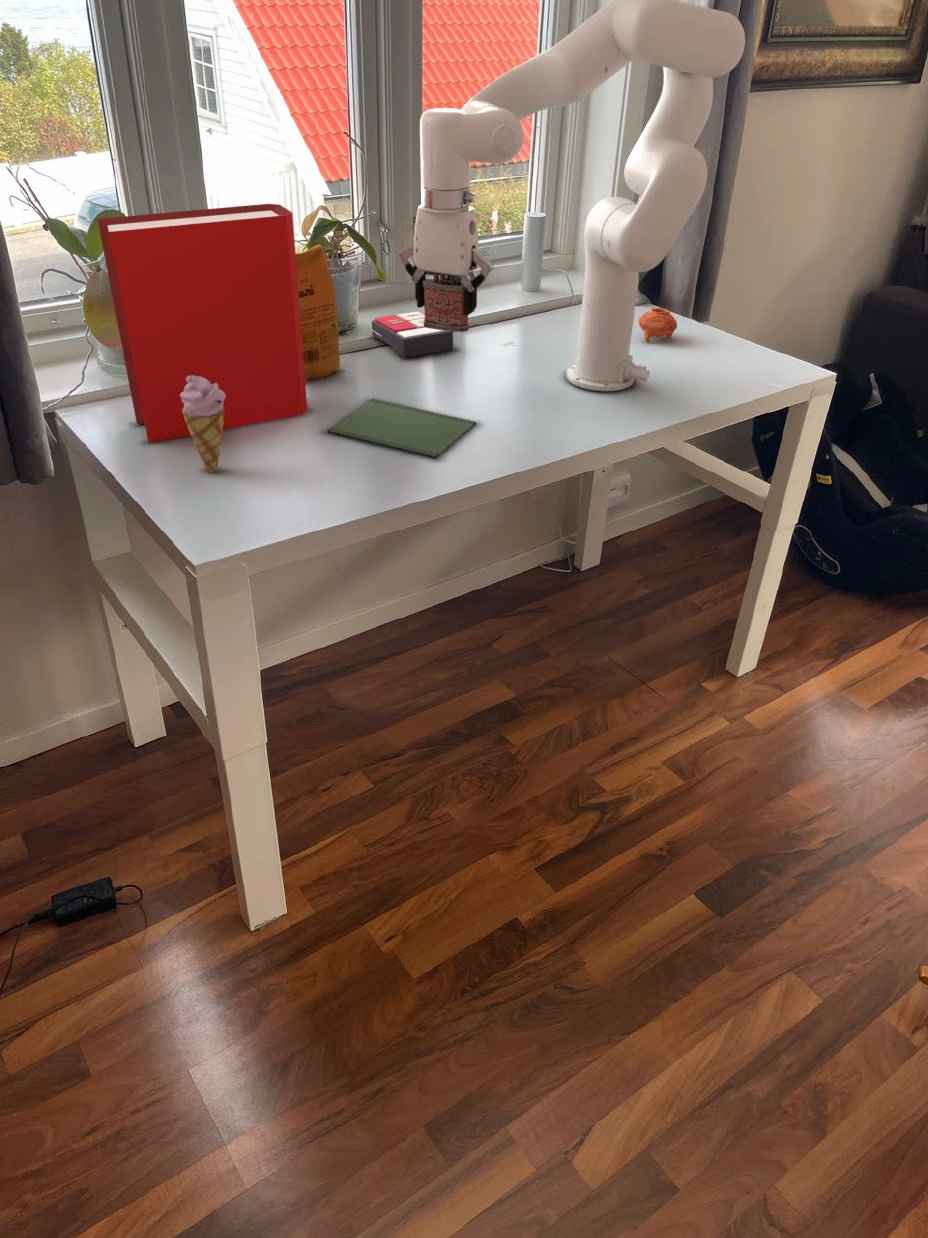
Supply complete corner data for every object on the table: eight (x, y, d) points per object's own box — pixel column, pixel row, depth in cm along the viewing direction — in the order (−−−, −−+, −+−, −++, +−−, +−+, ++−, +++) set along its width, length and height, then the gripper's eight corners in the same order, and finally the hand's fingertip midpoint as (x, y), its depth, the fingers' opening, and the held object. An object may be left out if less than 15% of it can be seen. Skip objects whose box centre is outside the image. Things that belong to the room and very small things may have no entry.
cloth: (475, 423, 158) (476, 421, 158) (435, 458, 147) (435, 456, 147) (373, 400, 165) (373, 398, 165) (327, 432, 154) (327, 430, 154)
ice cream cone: (195, 460, 145) (181, 366, 136) (236, 459, 145) (224, 366, 137) (189, 480, 140) (173, 383, 131) (231, 479, 140) (218, 383, 131)
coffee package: (261, 370, 175) (248, 248, 162) (318, 356, 182) (310, 237, 169) (289, 387, 169) (278, 261, 156) (346, 372, 176) (341, 250, 163)
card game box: (418, 309, 195) (454, 327, 184) (419, 329, 197) (454, 349, 187) (370, 316, 190) (404, 335, 180) (371, 337, 193) (404, 357, 182)
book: (148, 442, 149) (108, 231, 131) (136, 423, 155) (97, 218, 136) (310, 413, 160) (294, 214, 141) (293, 396, 166) (277, 202, 147)
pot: (627, 332, 197) (637, 300, 193) (658, 338, 200) (669, 307, 196) (644, 344, 190) (656, 311, 187) (676, 350, 193) (688, 317, 190)
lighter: (471, 326, 160) (472, 266, 154) (465, 333, 157) (465, 272, 152) (427, 321, 162) (426, 261, 156) (420, 327, 160) (419, 267, 154)
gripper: (505, 198, 147) (502, 310, 158) (408, 187, 153) (411, 295, 164) (485, 209, 142) (483, 323, 152) (385, 196, 148) (389, 307, 158)
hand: (445, 308), depth 158 cm, fingers closed on lighter, 8 cm apart
